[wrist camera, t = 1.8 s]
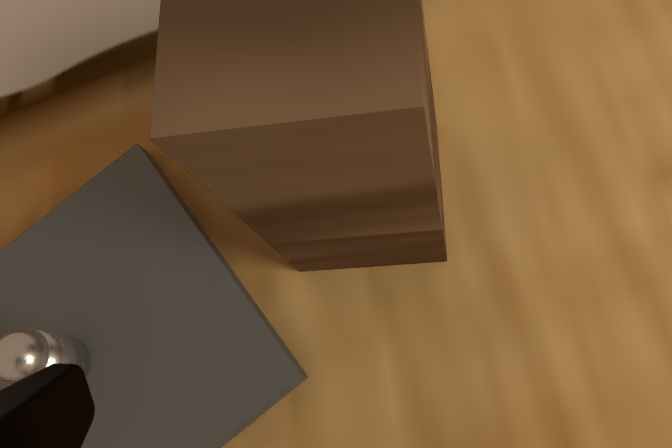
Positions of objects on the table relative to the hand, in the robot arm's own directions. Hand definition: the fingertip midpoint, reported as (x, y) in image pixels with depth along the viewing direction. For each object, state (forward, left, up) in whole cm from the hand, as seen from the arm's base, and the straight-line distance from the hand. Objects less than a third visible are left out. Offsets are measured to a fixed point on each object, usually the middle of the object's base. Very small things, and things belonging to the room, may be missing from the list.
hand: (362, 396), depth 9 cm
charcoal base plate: (-10, +10, -13) cm, 19 cm away
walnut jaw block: (+3, +8, -13) cm, 16 cm away
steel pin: (-10, +10, -13) cm, 19 cm away
